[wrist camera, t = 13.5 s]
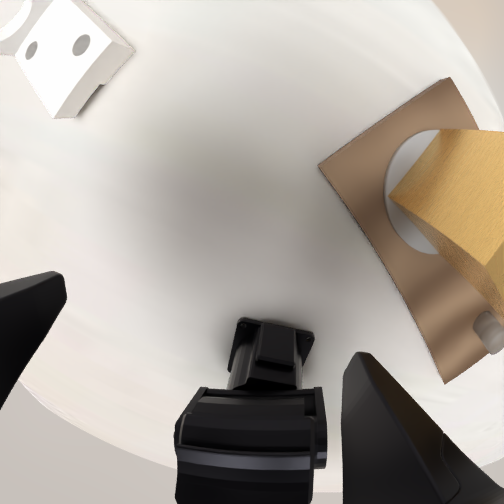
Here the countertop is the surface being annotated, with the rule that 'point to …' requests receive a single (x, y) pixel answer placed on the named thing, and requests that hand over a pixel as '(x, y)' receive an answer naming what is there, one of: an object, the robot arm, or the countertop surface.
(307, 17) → the countertop surface
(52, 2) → the bracket
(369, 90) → the countertop surface
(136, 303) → the countertop surface
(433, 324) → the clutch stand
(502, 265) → the gold square tube
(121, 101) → the countertop surface
